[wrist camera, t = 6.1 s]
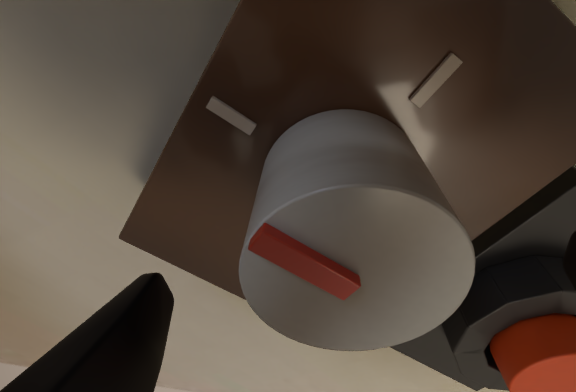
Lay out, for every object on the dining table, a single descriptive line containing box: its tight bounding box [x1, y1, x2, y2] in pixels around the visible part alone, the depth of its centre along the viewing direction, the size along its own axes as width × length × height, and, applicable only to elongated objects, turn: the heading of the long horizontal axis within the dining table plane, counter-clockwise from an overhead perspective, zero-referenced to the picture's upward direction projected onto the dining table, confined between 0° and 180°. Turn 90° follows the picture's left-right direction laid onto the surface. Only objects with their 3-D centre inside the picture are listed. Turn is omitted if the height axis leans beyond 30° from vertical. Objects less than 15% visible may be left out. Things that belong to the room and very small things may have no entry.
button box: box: [390, 166, 576, 391], centre depth 15 cm, size 11×8×4 cm
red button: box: [490, 313, 576, 392], centre depth 13 cm, size 4×4×2 cm
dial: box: [239, 109, 475, 351], centre depth 8 cm, size 5×5×4 cm
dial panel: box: [119, 0, 576, 300], centre depth 12 cm, size 13×10×3 cm
